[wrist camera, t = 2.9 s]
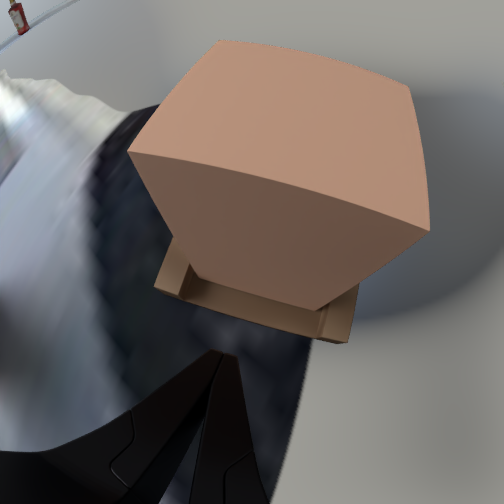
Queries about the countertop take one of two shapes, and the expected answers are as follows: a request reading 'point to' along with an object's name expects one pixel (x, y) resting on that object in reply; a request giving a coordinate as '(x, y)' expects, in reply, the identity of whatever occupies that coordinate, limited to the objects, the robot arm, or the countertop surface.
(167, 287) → the chute
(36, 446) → the countertop surface
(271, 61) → the block
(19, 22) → the liquor
